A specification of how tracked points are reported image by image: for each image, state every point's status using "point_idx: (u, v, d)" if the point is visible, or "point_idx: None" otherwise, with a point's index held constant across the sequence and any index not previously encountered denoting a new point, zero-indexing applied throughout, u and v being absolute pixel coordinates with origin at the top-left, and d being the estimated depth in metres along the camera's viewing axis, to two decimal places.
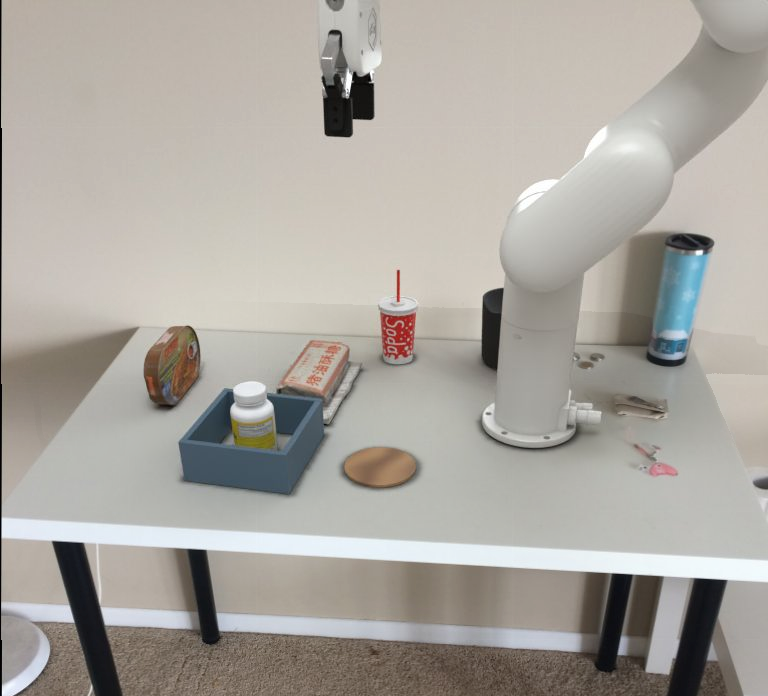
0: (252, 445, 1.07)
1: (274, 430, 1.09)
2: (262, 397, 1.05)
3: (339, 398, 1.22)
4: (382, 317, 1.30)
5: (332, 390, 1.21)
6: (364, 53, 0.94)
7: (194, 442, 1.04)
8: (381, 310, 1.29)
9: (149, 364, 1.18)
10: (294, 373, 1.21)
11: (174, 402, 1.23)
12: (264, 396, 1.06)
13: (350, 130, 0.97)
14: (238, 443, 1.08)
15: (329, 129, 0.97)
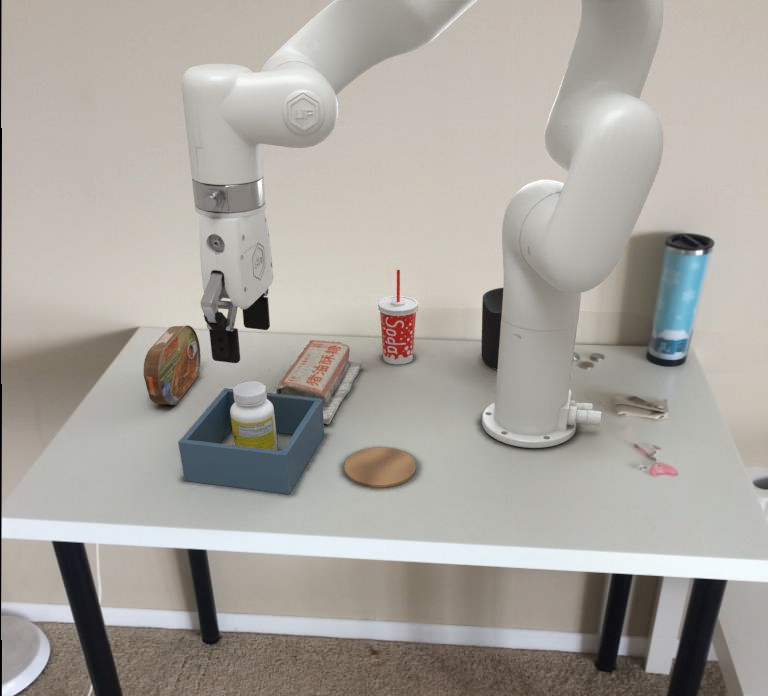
0: (252, 445, 1.07)
1: (274, 430, 1.09)
2: (262, 397, 1.05)
3: (339, 398, 1.22)
4: (382, 317, 1.30)
5: (332, 390, 1.21)
6: (248, 288, 0.95)
7: (194, 442, 1.04)
8: (381, 310, 1.29)
9: (149, 364, 1.18)
10: (294, 373, 1.21)
11: (174, 402, 1.23)
12: (264, 396, 1.06)
13: (237, 357, 0.98)
14: (238, 443, 1.08)
15: (216, 355, 0.98)
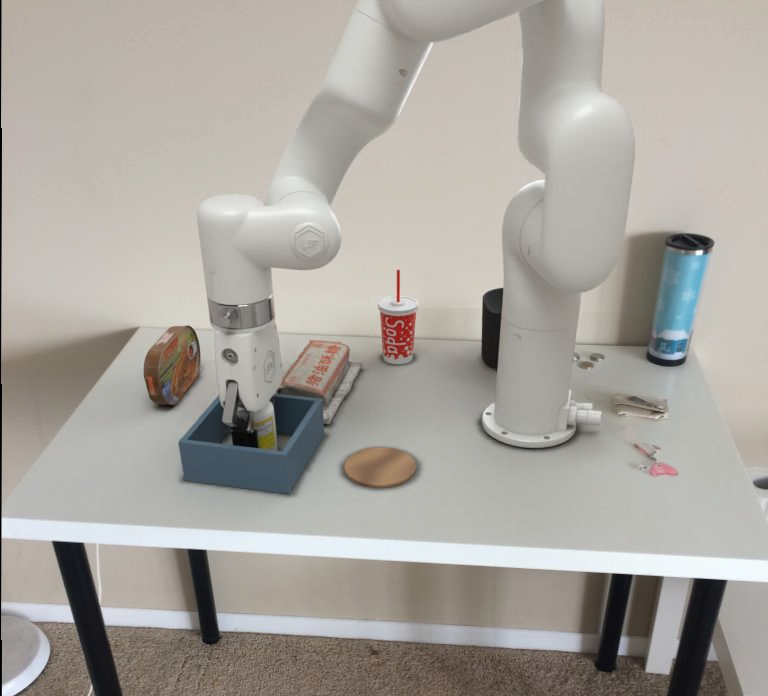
0: None
1: (274, 430, 1.09)
2: None
3: (339, 398, 1.22)
4: (382, 317, 1.30)
5: (332, 390, 1.21)
6: (260, 393, 1.02)
7: (194, 442, 1.04)
8: (381, 310, 1.29)
9: (149, 364, 1.18)
10: (294, 373, 1.21)
11: (174, 402, 1.23)
12: None
13: None
14: None
15: None
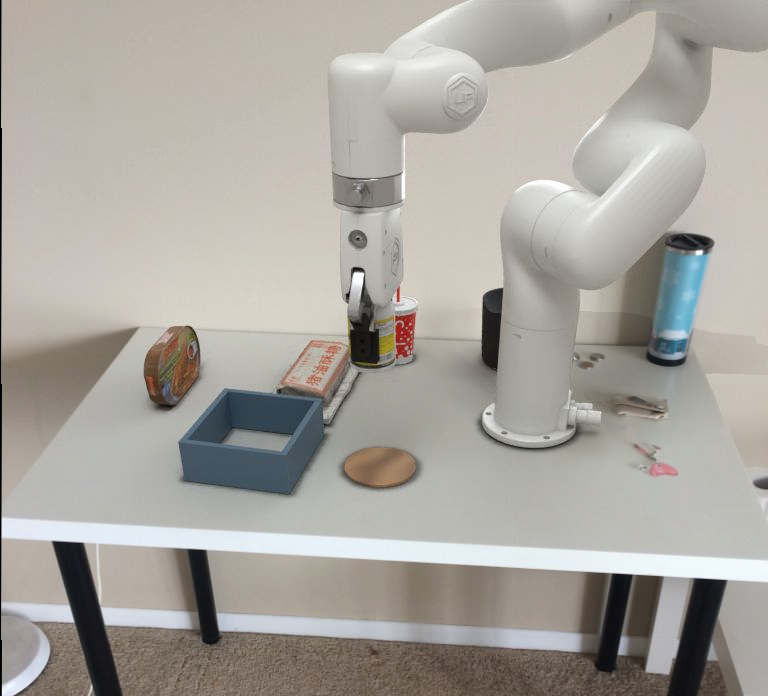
0: None
1: (394, 332, 0.98)
2: None
3: (339, 398, 1.22)
4: None
5: (332, 390, 1.21)
6: (387, 285, 0.92)
7: (194, 442, 1.04)
8: None
9: (149, 364, 1.18)
10: (294, 373, 1.21)
11: (174, 402, 1.23)
12: None
13: (377, 358, 0.97)
14: None
15: (356, 356, 0.97)
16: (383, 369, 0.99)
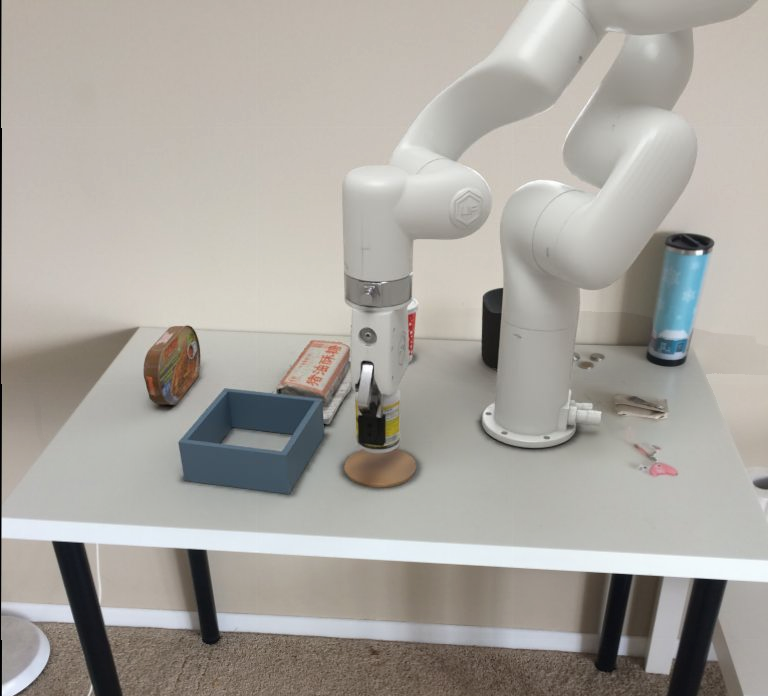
0: None
1: (399, 415, 1.04)
2: None
3: (339, 398, 1.22)
4: None
5: (332, 390, 1.21)
6: (394, 376, 0.98)
7: (194, 442, 1.04)
8: None
9: (149, 364, 1.18)
10: (294, 373, 1.21)
11: (174, 402, 1.23)
12: None
13: (383, 440, 1.03)
14: None
15: (363, 438, 1.03)
16: (388, 449, 1.05)
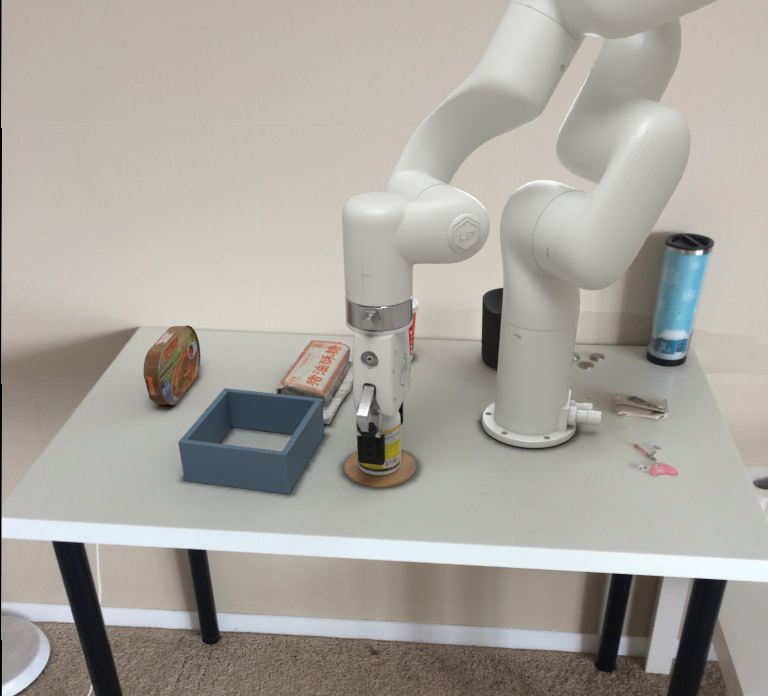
0: None
1: (400, 438, 1.06)
2: None
3: (339, 398, 1.22)
4: None
5: (332, 390, 1.21)
6: (396, 397, 0.99)
7: (194, 442, 1.04)
8: None
9: (149, 364, 1.18)
10: (294, 373, 1.21)
11: (174, 402, 1.23)
12: None
13: (382, 460, 1.02)
14: None
15: (362, 457, 1.03)
16: (389, 472, 1.07)
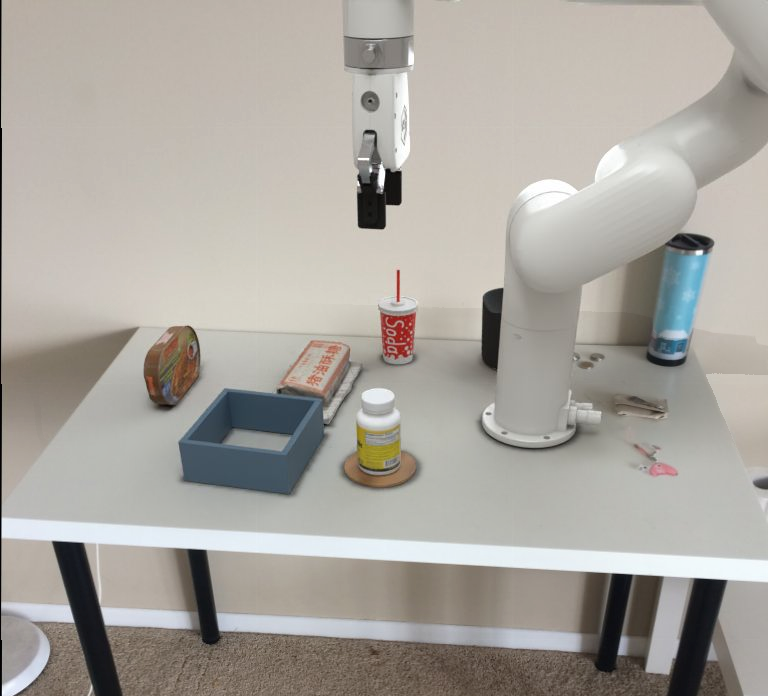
0: (378, 453, 1.05)
1: (400, 438, 1.06)
2: (391, 404, 1.03)
3: (339, 398, 1.22)
4: (382, 317, 1.30)
5: (332, 390, 1.21)
6: (398, 150, 0.95)
7: (194, 442, 1.04)
8: (381, 310, 1.29)
9: (149, 364, 1.18)
10: (294, 373, 1.21)
11: (174, 402, 1.23)
12: (393, 403, 1.03)
13: (383, 223, 0.98)
14: (363, 451, 1.05)
15: (362, 222, 0.99)
16: (389, 472, 1.07)
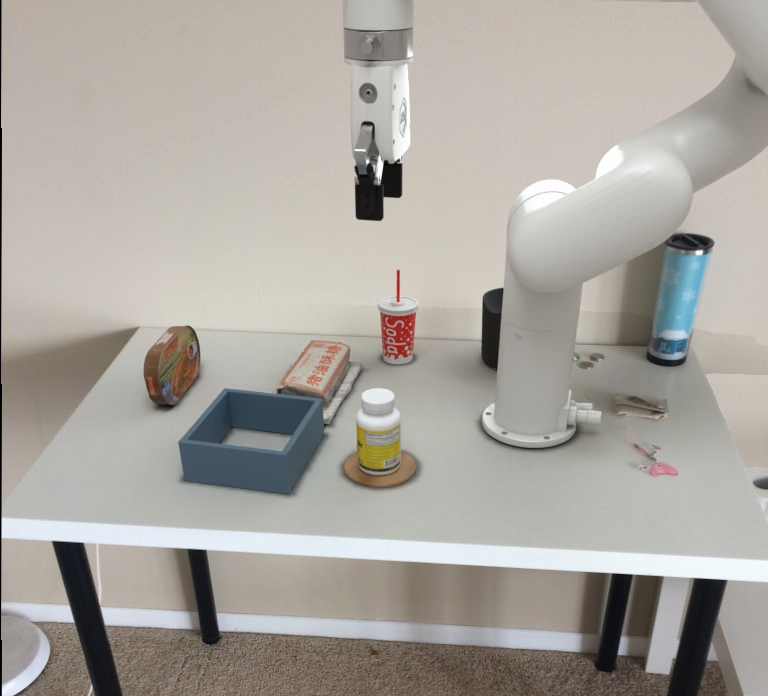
0: (378, 453, 1.05)
1: (400, 438, 1.06)
2: (391, 404, 1.03)
3: (339, 398, 1.22)
4: (382, 317, 1.30)
5: (332, 390, 1.21)
6: (396, 141, 0.96)
7: (194, 442, 1.04)
8: (381, 310, 1.29)
9: (149, 364, 1.18)
10: (294, 373, 1.21)
11: (174, 402, 1.23)
12: (393, 403, 1.03)
13: (381, 214, 0.99)
14: (363, 451, 1.05)
15: (360, 213, 1.00)
16: (389, 472, 1.07)
